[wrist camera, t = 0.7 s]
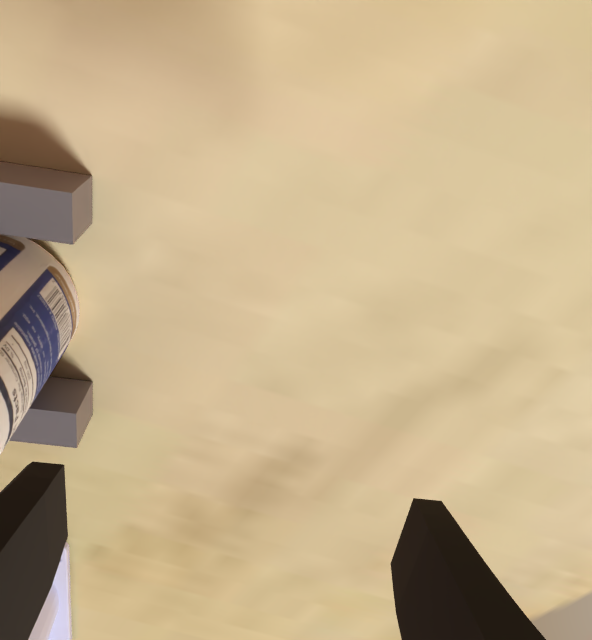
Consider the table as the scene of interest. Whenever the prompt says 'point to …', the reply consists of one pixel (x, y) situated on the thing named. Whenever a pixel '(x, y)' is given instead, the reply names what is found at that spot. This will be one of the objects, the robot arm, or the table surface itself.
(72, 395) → the grey u-shaped piece
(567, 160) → the table surface
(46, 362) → the pill bottle
